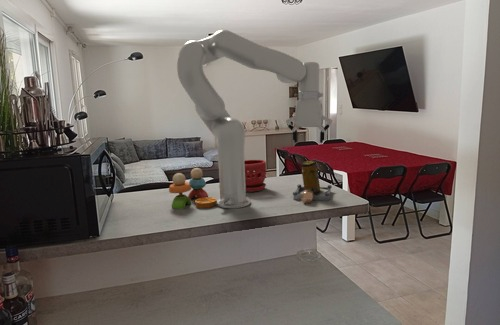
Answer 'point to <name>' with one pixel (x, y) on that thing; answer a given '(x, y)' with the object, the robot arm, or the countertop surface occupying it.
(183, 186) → the wooden stacking toy
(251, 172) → the plant pot
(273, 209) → the countertop surface
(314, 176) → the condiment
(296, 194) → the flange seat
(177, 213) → the countertop surface
